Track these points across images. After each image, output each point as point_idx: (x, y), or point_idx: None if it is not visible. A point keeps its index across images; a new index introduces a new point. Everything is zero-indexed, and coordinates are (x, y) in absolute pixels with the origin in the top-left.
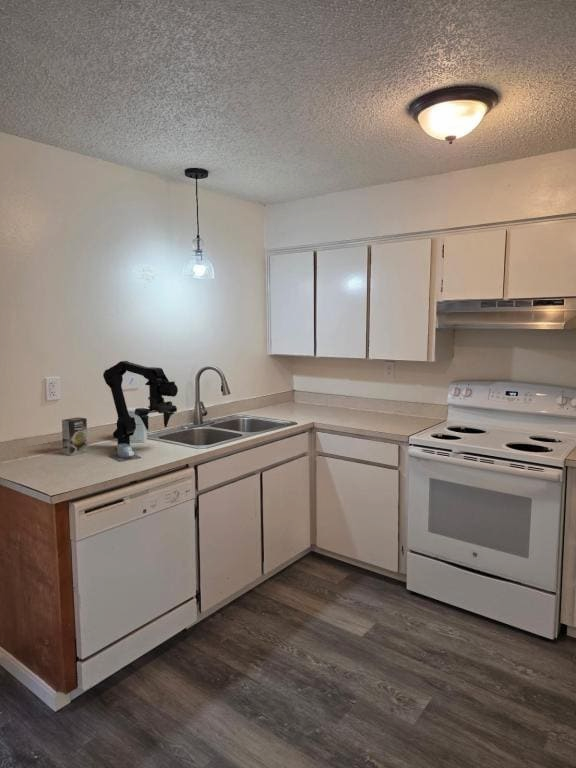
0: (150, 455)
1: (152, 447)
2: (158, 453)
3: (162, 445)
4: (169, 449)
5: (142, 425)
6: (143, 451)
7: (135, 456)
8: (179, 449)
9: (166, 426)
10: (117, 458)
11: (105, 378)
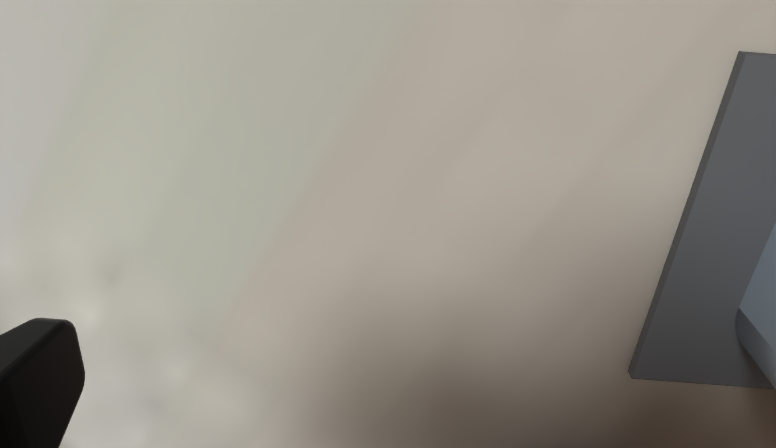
0: (546, 83)
1: (283, 393)
2: (390, 100)
3: (141, 392)
4: (148, 183)
5: None
6: (472, 319)
7: (764, 146)
8: (15, 81)
9: (20, 326)
10: None
11: None
